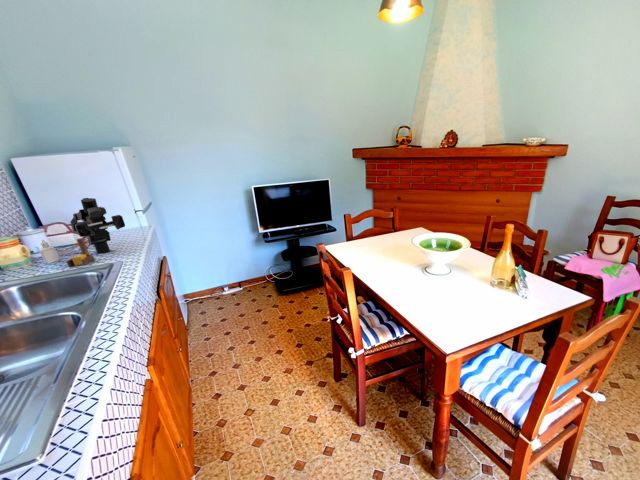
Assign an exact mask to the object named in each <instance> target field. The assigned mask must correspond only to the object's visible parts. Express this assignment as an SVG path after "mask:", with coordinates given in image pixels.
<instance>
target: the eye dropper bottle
mask: <svg viewBox="0 0 640 480" xmlns="http://www.w3.org/2000/svg"><path fill="white" fill-rule="evenodd" d="M40 245H41V248H40V249H39V250H38V251H39V254H40V256H41V259H42V260H43V262H44V264H50V263H53V262H54V263H55V262H58V261H60V260H61V258H60V257H59V254H58V253H57V250H56V248H55V247H54V246H50V245H49V242H47V241H45V240H44V239H42V240H41V242H40Z"/></svg>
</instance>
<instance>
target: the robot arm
mask: <svg viewBox="0 0 640 480" xmlns="http://www.w3.org/2000/svg"><path fill="white" fill-rule="evenodd" d="M80 202H81V207H82V209H79V210H78V212H74V213H73V214H72V219H71V220H70V227H71V230H72V231H73V232H74V233H76V234H78V236H79V237H80V238H85V237H86V238H87V243H88V244H89V245H91V246H94V250H95V251H96V254H99V255H100V254H107V253H110V252H111V248H110V246H109V244H108V242H110V241H112V239H111V235H110V234H111V233H110V232H109V231H108V229H109V228H110V227H115V229H116V230H117V231H118V230H120V229H123V228H125V227H126V223H125V221H124V217H123V216H122V215H121V214H116V215H112V216H111V217H110V218H111V221H106V220H107V218H106V217H105V215H106V214H108V213H107V210H106V208H105V207H104V206H99V205H98V203H97V198H93V197H89V198H88V197H83V198H82V199H80Z"/></svg>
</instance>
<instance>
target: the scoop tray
mask: <svg viewBox="0 0 640 480" xmlns="http://www.w3.org/2000/svg"><path fill="white" fill-rule="evenodd" d="M76 242H77V244H78V247H79V249H80V251H81V255H83V254H86V256H87V257H86V258H84V259H82V262H83V264H84V265H74V263H73V260H72V258H70V259H68V260H66V262H65V263H66V264H67V266H68V268H75V267H85V266H87V265H89V264H91V263H93V262H95V258H94V255H93V254H90V253H89V249H88V248H87V245H86V243H85V240H84V237H80V238H77V239H76Z"/></svg>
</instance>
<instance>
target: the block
mask: <svg viewBox="0 0 640 480" xmlns="http://www.w3.org/2000/svg"><path fill="white" fill-rule="evenodd" d="M86 257H87V256H86V254H76V255H75V256H72V257H71V259H72V260H73V263H74V265H84V264H83V262H82V259H84V258H86Z"/></svg>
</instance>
